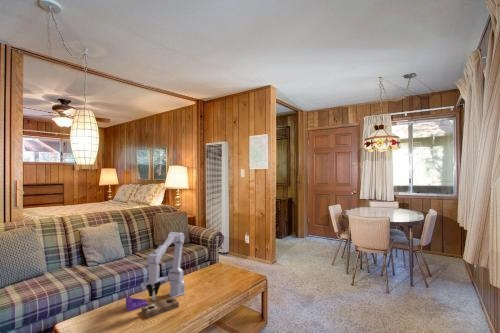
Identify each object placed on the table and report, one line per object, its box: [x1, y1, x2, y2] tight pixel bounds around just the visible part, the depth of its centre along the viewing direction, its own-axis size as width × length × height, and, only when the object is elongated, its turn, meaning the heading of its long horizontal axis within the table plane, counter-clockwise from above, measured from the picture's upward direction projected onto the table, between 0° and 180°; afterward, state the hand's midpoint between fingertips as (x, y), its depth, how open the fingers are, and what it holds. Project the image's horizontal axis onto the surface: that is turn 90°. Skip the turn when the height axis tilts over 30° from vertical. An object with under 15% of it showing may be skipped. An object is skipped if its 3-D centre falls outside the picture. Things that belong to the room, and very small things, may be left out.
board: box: [141, 296, 180, 320], centre depth 165 cm, size 20×10×3 cm, turn 132°
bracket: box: [125, 295, 149, 312], centre depth 168 cm, size 12×7×7 cm, turn 130°
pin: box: [151, 287, 157, 304], centre depth 162 cm, size 3×3×8 cm
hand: (153, 295), depth 162 cm, fingers closed on pin, 3 cm apart
